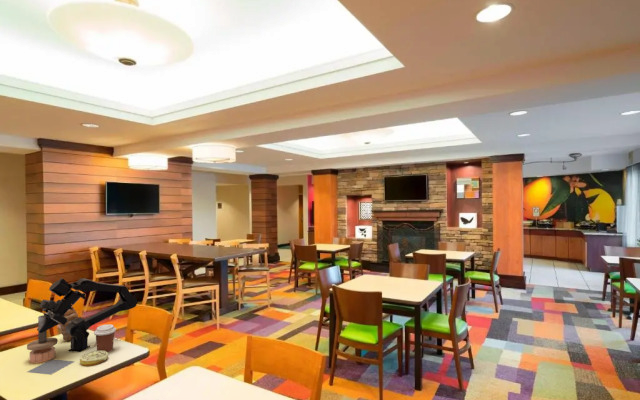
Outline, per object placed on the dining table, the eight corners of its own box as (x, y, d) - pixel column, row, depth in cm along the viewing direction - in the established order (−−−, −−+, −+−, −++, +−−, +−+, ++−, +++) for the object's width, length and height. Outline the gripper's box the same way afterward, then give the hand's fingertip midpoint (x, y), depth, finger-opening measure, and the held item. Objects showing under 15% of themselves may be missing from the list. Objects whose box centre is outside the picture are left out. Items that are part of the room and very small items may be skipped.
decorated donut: (111, 361, 161) (111, 353, 161) (83, 370, 153) (83, 361, 153) (103, 354, 168) (103, 346, 168) (77, 362, 160) (77, 353, 160)
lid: (58, 345, 161) (58, 317, 161) (26, 352, 154) (26, 322, 154) (56, 338, 169) (56, 310, 169) (26, 344, 162) (26, 315, 162)
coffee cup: (109, 355, 166) (110, 330, 166) (89, 356, 166) (89, 330, 166) (119, 347, 176) (119, 323, 175) (100, 347, 175) (100, 323, 175)
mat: (75, 362, 160) (75, 361, 160) (50, 375, 148) (50, 374, 148) (51, 359, 161) (51, 359, 161) (26, 372, 150) (26, 372, 150)
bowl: (59, 355, 166) (59, 347, 166) (41, 364, 157) (41, 355, 157) (43, 353, 167) (43, 345, 167) (24, 362, 158) (24, 353, 158)
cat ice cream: (81, 339, 185) (82, 304, 185) (66, 344, 178) (66, 309, 178) (70, 336, 188) (70, 302, 188) (54, 342, 181) (55, 307, 181)
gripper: (47, 289, 170) (18, 317, 162) (58, 296, 158) (27, 327, 150) (67, 301, 177) (39, 329, 168) (79, 309, 164) (50, 340, 156)
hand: (38, 331), depth 161 cm, fingers closed on lid, 3 cm apart
